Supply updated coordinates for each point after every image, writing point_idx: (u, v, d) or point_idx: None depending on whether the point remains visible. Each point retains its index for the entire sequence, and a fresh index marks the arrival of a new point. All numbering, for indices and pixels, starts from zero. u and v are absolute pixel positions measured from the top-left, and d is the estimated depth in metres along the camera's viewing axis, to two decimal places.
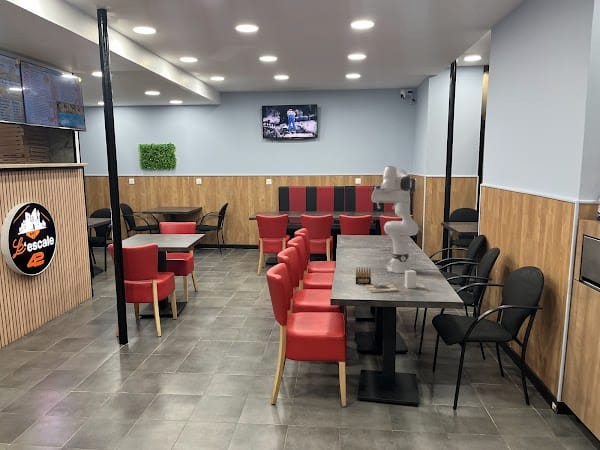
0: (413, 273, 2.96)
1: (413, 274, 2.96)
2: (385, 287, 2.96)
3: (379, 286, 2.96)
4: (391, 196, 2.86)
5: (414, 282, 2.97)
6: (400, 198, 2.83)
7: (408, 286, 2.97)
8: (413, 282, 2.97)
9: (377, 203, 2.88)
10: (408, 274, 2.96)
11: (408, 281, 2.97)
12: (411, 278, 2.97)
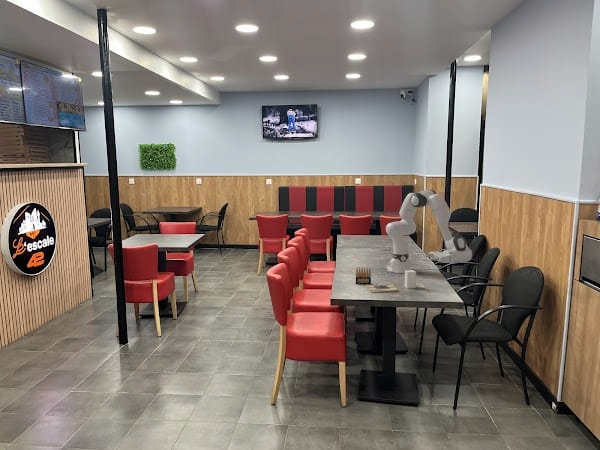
0: (413, 273, 2.96)
1: (413, 274, 2.96)
2: (385, 287, 2.96)
3: (379, 286, 2.96)
4: None
5: (414, 282, 2.97)
6: None
7: (408, 286, 2.97)
8: (413, 282, 2.97)
9: None
10: (408, 274, 2.96)
11: (408, 281, 2.97)
12: (411, 278, 2.97)
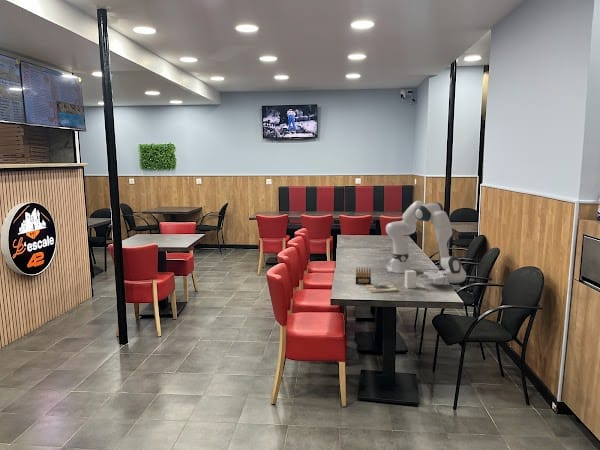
0: (413, 273, 2.96)
1: (413, 274, 2.96)
2: (385, 287, 2.96)
3: (379, 286, 2.96)
4: None
5: (414, 282, 2.97)
6: None
7: (408, 286, 2.97)
8: (413, 282, 2.97)
9: None
10: (408, 274, 2.96)
11: (408, 281, 2.97)
12: (411, 278, 2.97)
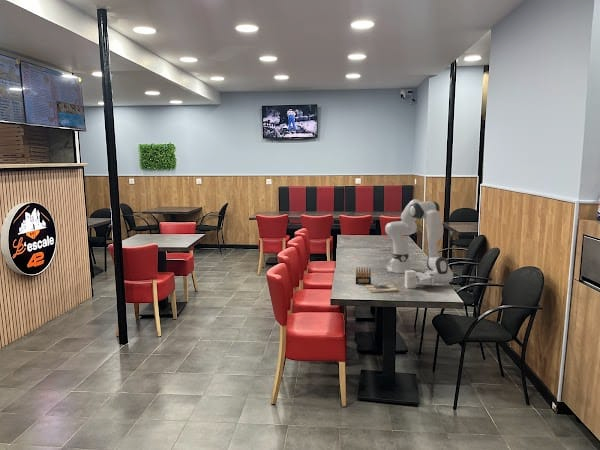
0: (413, 273, 2.96)
1: (413, 274, 2.97)
2: (385, 287, 2.96)
3: (379, 286, 2.96)
4: None
5: (414, 282, 2.97)
6: None
7: (408, 286, 2.97)
8: (413, 282, 2.97)
9: None
10: (408, 274, 2.96)
11: (408, 281, 2.97)
12: None
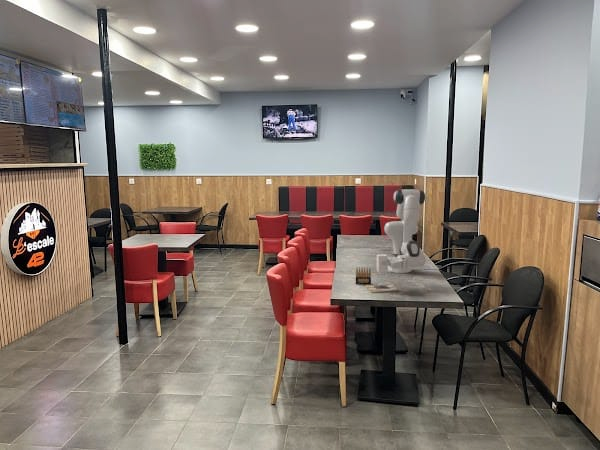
0: (384, 257, 2.92)
1: (384, 258, 2.92)
2: (385, 287, 2.96)
3: (379, 286, 2.96)
4: None
5: (386, 266, 2.93)
6: None
7: (380, 270, 2.93)
8: (385, 266, 2.93)
9: None
10: (379, 258, 2.92)
11: (379, 265, 2.92)
12: None
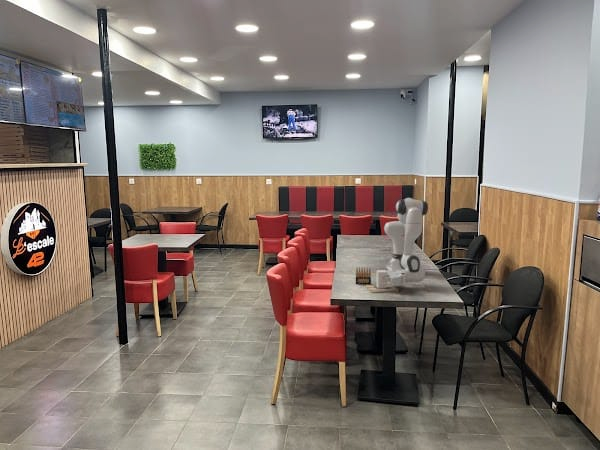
0: (384, 273, 2.93)
1: (384, 274, 2.93)
2: None
3: None
4: None
5: (385, 282, 2.94)
6: None
7: (379, 286, 2.94)
8: (384, 282, 2.94)
9: None
10: (379, 274, 2.93)
11: (379, 281, 2.94)
12: None
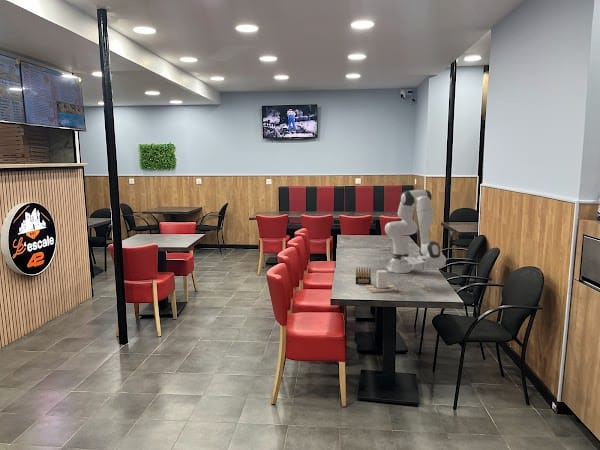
0: (384, 273, 2.93)
1: (384, 274, 2.93)
2: None
3: None
4: None
5: (385, 282, 2.94)
6: None
7: (379, 286, 2.94)
8: (384, 282, 2.94)
9: (408, 266, 2.92)
10: (379, 274, 2.93)
11: (379, 281, 2.94)
12: (382, 278, 2.94)
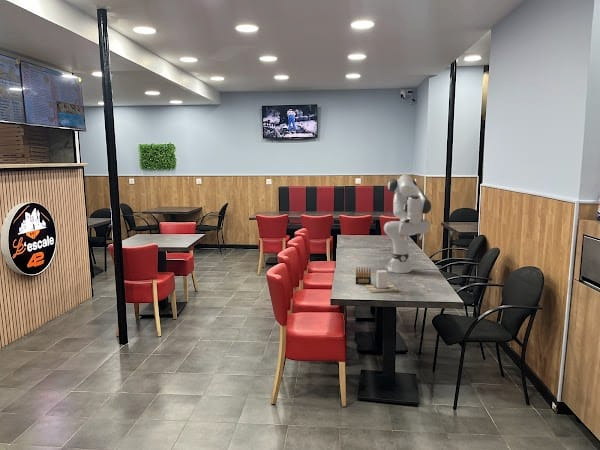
0: (384, 273, 2.93)
1: (384, 274, 2.93)
2: None
3: None
4: (419, 229, 3.00)
5: (385, 282, 2.94)
6: (427, 230, 3.00)
7: (379, 286, 2.94)
8: (384, 282, 2.94)
9: (406, 236, 3.00)
10: (379, 274, 2.93)
11: (379, 281, 2.94)
12: (382, 278, 2.94)
